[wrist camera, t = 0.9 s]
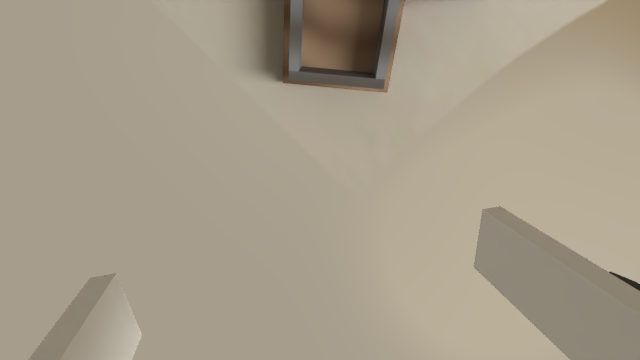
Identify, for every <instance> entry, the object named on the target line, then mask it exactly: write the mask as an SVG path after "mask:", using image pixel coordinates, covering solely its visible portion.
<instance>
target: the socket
mask: <svg viewBox="0 0 640 360" xmlns="http://www.w3.org/2000/svg"><path fill="white" fill-rule="evenodd" d="M404 2H405V0H285V13H284V71H283V83H291V84H302V85H312V86H323V87H334V88H345V89H355V90H366V91H377V92H387V90H388V85H389V80H390V74H391V69H392V64H393V59H394V54H395V48H396V43H397V38H398V33H399V28H400V22H401V17H402V12H403V7H404Z"/></svg>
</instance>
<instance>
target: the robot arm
mask: <svg viewBox="0 0 640 360" xmlns="http://www.w3.org/2000/svg"><path fill="white" fill-rule="evenodd" d="M474 268H475V269H476V270H477V271H479V273H480V274H482V275H483V276H484V277H485V278H486V279H487V280H488V281H489V282H490V283H491V284H492V285H493V286H494V287H495V288H496V289H497V290H498V291H499V292H500V293H501V294H502V295H503V296H504V297H506V298H507V299H508V300H509V301H510V302H511V303H512V304H513V305H514V306H515V307H516V308H517V309H518V310H519V311H520V312H521V313H522V314H523V315H524V316H525V317H526V318H527V319H528V320H530V321H531V322H532V323H533V324H534V325H535V326H536V327H537V328H538V329H539V330H540V331H541V332H542V333H543V334H544V335H545V336H546V337H547V338H548V339H549V340H550V341H551V342H552V343H554V345H556V346H557V347H558V348H559V349H560V350H561V351H562V352H563V353H564V354H565V355H566V356H567V357H568V358H569V359H570V360H640V284H638V283H637V282H634V281H632V280H629V279H627V278H625V277H622V276H620V275H617V274H615V273H612V272H607V271H606V270H604V269H602V268H601V267H599V266H597V265H596V264H594V263H593V262H591V261H589V260H588V259H586V258H584V257H583V256H581V255H579V254H578V253H576V252H574V251H573V250H571V249H569V248H568V247H566V246H565V245H563V244H561V243H560V242H558V241H556V240H555V239H553V238H551V237H550V236H548V235H546V234H545V233H543V232H541V231H540V230H538V229H537V228H535V227H533V226H532V225H530V224H528V223H527V222H525V221H523V220H522V219H520V218H518V217H517V216H515V215H513V214H512V213H510V212H508V211H507V210H505V209H504V208H502V207H500V206H499V207H494V208H488V209H483V210H482V216H481V223H480V229H479V236H478V242H477V249H476V256H475V262H474ZM141 336H142V334H141V332H140V329H139V327H138V325H137V322H136V320H135V317H134V315H133V312H132V310H131V308H130V305H129V303H128V301H127V298H126V296H125V294H124V291H123V289H122V286H121V284H120V281H119V279H118V277H117V274H116V273H115V274H110V275H104V276H99V277H93V278H90V279H89V280H88V282H87V283H86V284H85V285H84V287H83V288H82V289H81V291H80V292H79V293H78V295H77V296H76V297H75V299H74V300H73V301H72V303H71V304H70V305H69V307H68V308H67V309H66V311H65V312H64V313H63V315H62V316H61V317H60V319H59V320H58V321H57V322H56V324H55V325H54V326H53V328H52V329H51V330H50V332H49V333H48V334H47V336H46V337H45V338H44V340H43V341H42V342H41V344H40V345H39V346H38V347H37V349H36V350H35V352H34V353H33V354H32V355H31V357H30V358H29V359H28V360H132V358H133V356H134V353H135V351H136V349H137V346H138V343H139V341H140V339H141Z"/></svg>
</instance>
